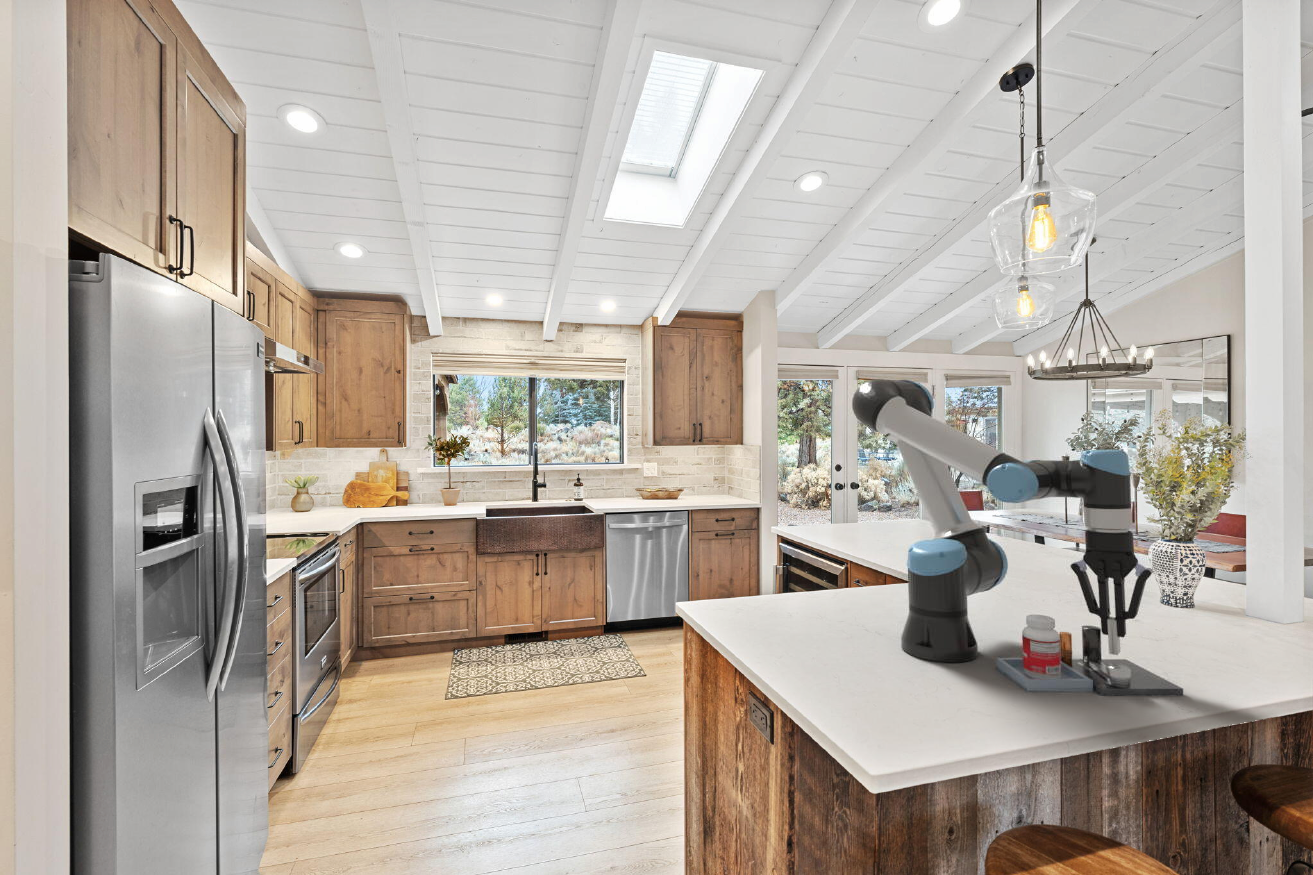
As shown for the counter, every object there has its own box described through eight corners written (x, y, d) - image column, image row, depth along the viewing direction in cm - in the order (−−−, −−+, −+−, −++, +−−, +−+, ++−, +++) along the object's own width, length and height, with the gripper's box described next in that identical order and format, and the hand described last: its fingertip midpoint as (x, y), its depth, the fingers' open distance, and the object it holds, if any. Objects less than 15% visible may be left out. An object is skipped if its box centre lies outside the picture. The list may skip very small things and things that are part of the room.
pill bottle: (1027, 667, 122) (1026, 611, 122) (1064, 675, 118) (1062, 617, 118) (1019, 676, 117) (1018, 618, 117) (1057, 685, 113) (1055, 624, 113)
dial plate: (1100, 695, 110) (1099, 654, 110) (1053, 665, 124) (1052, 629, 124) (1183, 695, 109) (1182, 654, 109) (1125, 665, 123) (1124, 629, 123)
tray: (1027, 691, 112) (1027, 680, 112) (996, 667, 124) (995, 657, 124) (1093, 691, 111) (1092, 680, 111) (1055, 667, 123) (1055, 657, 123)
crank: (1135, 688, 109) (1134, 648, 109) (1112, 686, 110) (1110, 647, 110) (1098, 661, 122) (1097, 625, 122) (1078, 660, 123) (1077, 625, 123)
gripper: (1153, 529, 117) (1160, 654, 117) (1073, 525, 126) (1079, 641, 126) (1147, 534, 112) (1154, 665, 111) (1064, 529, 121) (1070, 650, 121)
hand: (1114, 652), depth 119 cm, fingers closed
